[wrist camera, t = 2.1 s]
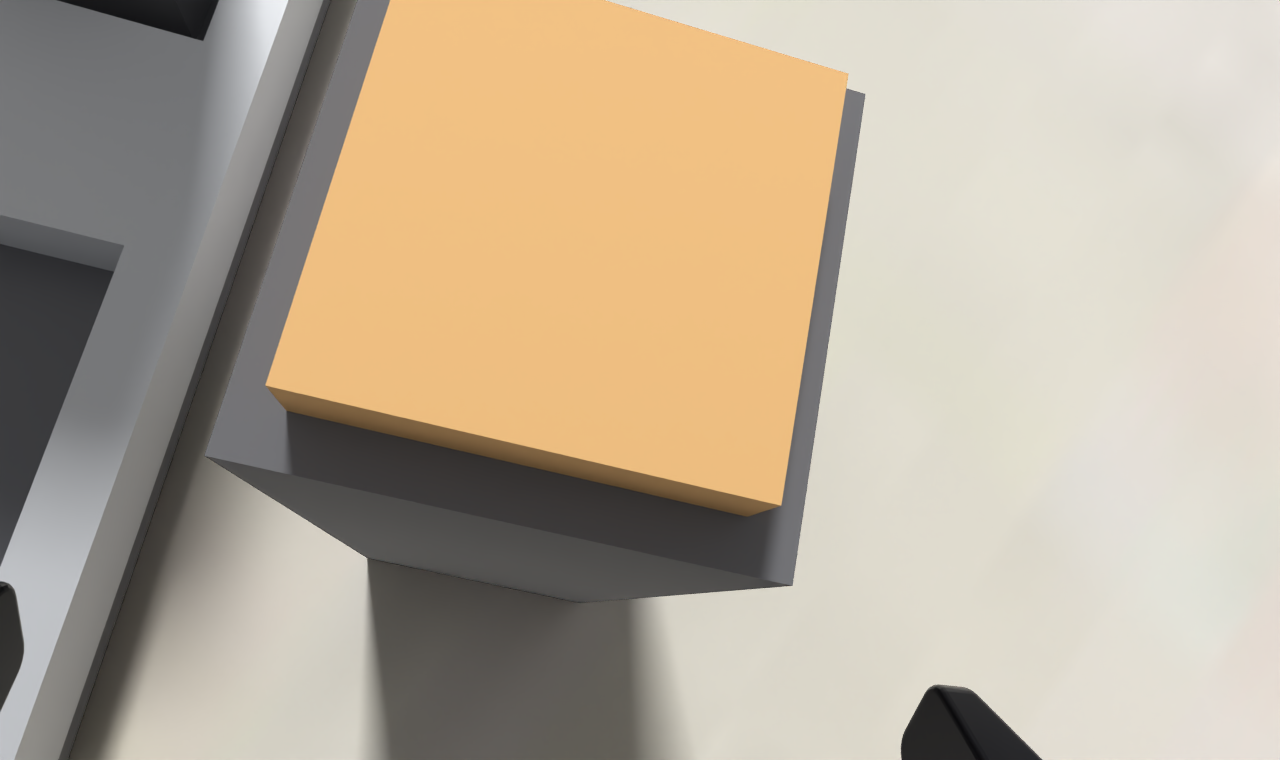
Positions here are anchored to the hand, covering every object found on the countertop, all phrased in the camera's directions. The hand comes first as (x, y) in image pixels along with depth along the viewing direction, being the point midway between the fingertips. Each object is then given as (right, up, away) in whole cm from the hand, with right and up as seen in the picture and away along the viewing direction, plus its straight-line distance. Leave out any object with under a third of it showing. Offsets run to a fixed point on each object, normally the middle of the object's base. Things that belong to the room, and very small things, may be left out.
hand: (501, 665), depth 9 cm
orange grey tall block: (-2, +1, +11) cm, 11 cm away
